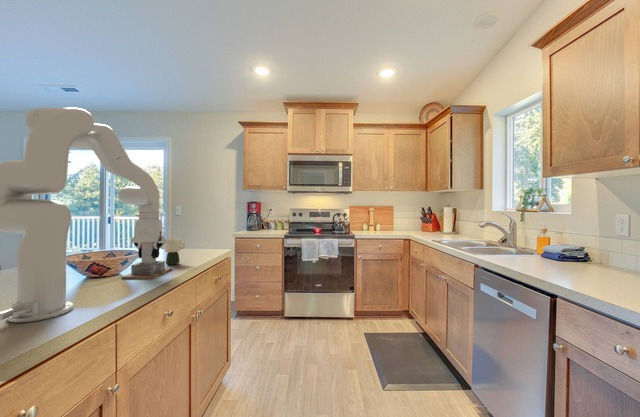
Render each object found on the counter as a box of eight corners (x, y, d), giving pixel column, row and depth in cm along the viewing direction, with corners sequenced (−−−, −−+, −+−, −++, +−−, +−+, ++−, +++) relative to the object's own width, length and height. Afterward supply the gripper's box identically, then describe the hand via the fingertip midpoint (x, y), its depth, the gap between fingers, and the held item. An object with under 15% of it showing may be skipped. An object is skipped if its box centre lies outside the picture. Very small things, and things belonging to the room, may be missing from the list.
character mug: (186, 262, 142) (186, 238, 142) (182, 265, 135) (182, 239, 135) (163, 263, 140) (163, 238, 140) (158, 266, 133) (158, 240, 133)
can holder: (151, 279, 110) (151, 267, 110) (121, 279, 110) (121, 266, 109) (172, 270, 126) (172, 259, 126) (146, 269, 125) (146, 259, 125)
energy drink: (158, 266, 120) (159, 239, 120) (150, 269, 115) (150, 241, 115) (147, 266, 121) (147, 239, 120) (138, 269, 115) (138, 241, 115)
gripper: (123, 216, 113) (122, 259, 114) (164, 216, 114) (163, 259, 114) (135, 215, 121) (134, 256, 121) (173, 216, 121) (173, 256, 121)
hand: (148, 257), depth 118 cm, fingers closed on energy drink, 5 cm apart
